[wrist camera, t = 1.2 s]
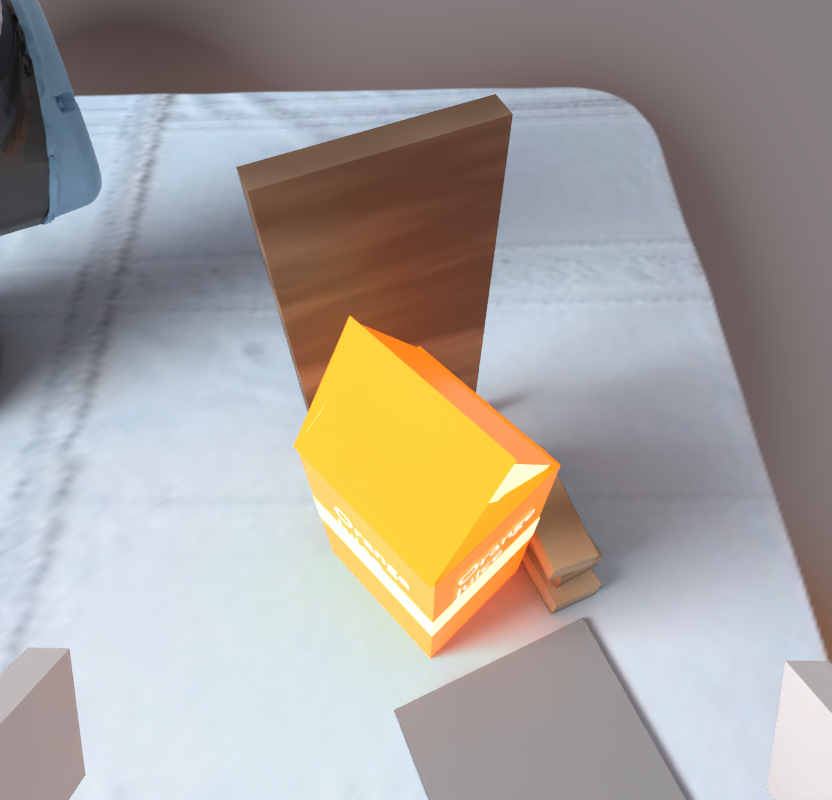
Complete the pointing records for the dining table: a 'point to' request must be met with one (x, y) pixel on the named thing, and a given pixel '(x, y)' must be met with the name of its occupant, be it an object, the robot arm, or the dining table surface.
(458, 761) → the grey mat
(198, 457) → the dining table surface
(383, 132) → the walnut rack
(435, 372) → the orange juice
